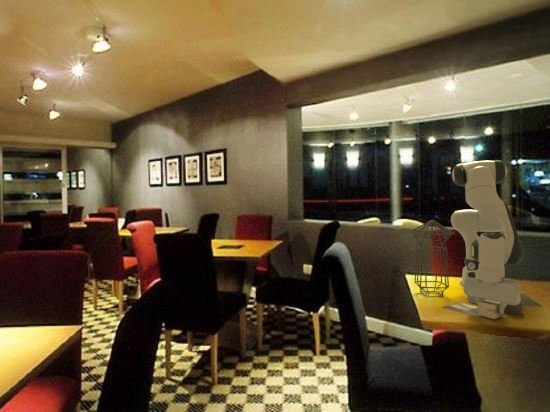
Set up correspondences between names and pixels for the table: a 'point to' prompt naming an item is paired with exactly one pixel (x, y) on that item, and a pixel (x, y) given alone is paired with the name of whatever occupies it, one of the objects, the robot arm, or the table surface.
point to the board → (472, 310)
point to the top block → (473, 299)
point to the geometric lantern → (442, 228)
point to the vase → (514, 308)
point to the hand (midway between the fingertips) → (490, 311)
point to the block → (489, 309)
